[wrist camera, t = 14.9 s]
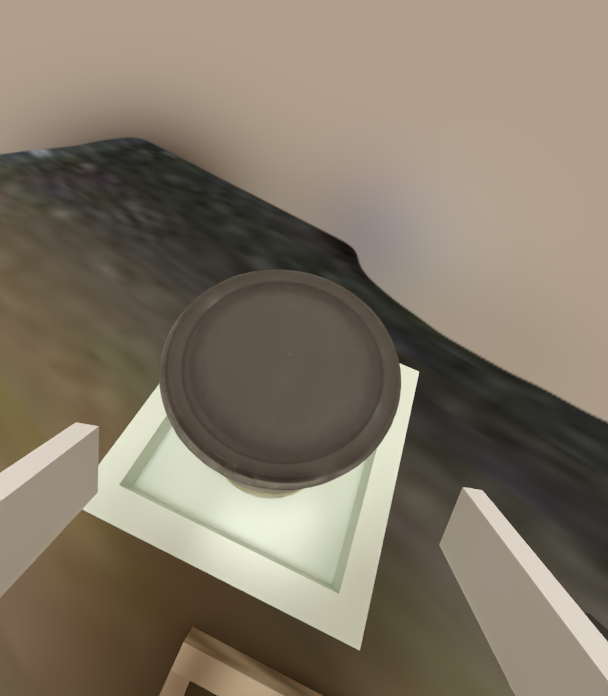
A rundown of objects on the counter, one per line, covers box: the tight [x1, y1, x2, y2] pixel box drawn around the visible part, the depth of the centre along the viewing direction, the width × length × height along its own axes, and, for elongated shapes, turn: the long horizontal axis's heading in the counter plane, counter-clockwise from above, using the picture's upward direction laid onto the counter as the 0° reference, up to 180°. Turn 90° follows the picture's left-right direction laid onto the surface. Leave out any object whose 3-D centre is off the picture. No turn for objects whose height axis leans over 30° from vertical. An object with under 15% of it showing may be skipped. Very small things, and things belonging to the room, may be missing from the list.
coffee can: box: [159, 270, 401, 499], centre depth 18 cm, size 10×10×14 cm
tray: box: [82, 363, 419, 650], centre depth 24 cm, size 20×20×3 cm
